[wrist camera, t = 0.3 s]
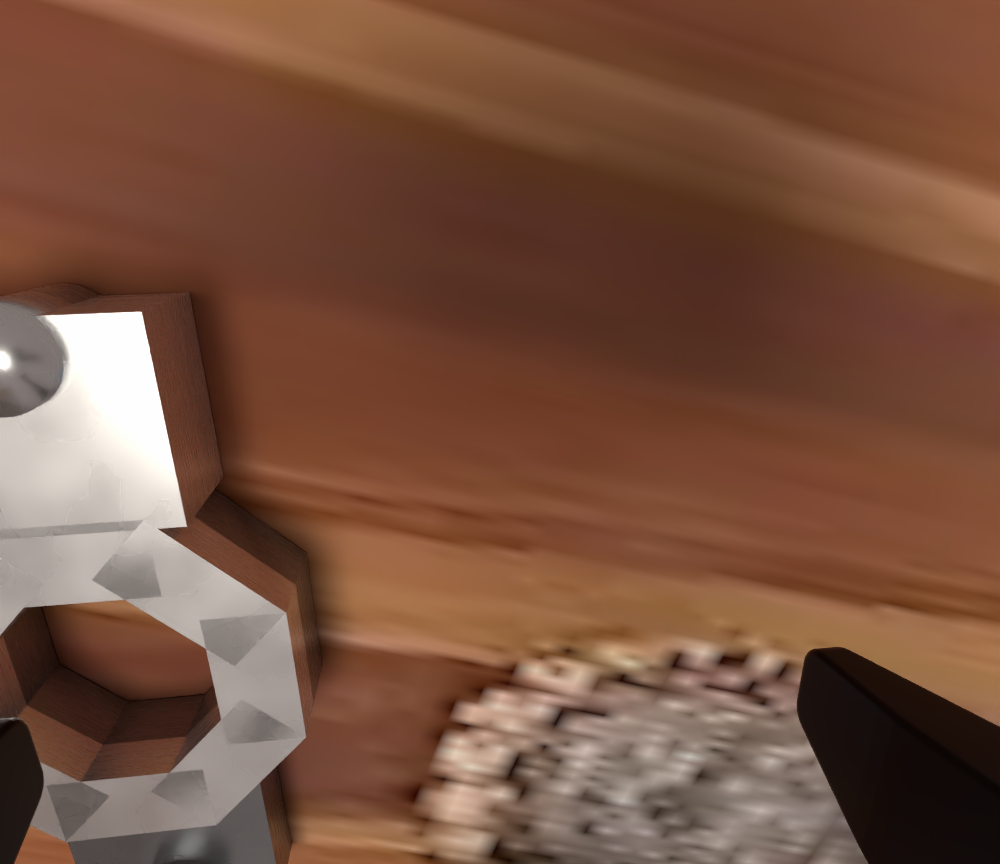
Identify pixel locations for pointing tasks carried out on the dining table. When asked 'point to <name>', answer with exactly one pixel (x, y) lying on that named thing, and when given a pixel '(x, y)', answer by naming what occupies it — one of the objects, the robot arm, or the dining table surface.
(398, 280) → the dining table surface
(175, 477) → the chain end upper
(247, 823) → the chain end lower
